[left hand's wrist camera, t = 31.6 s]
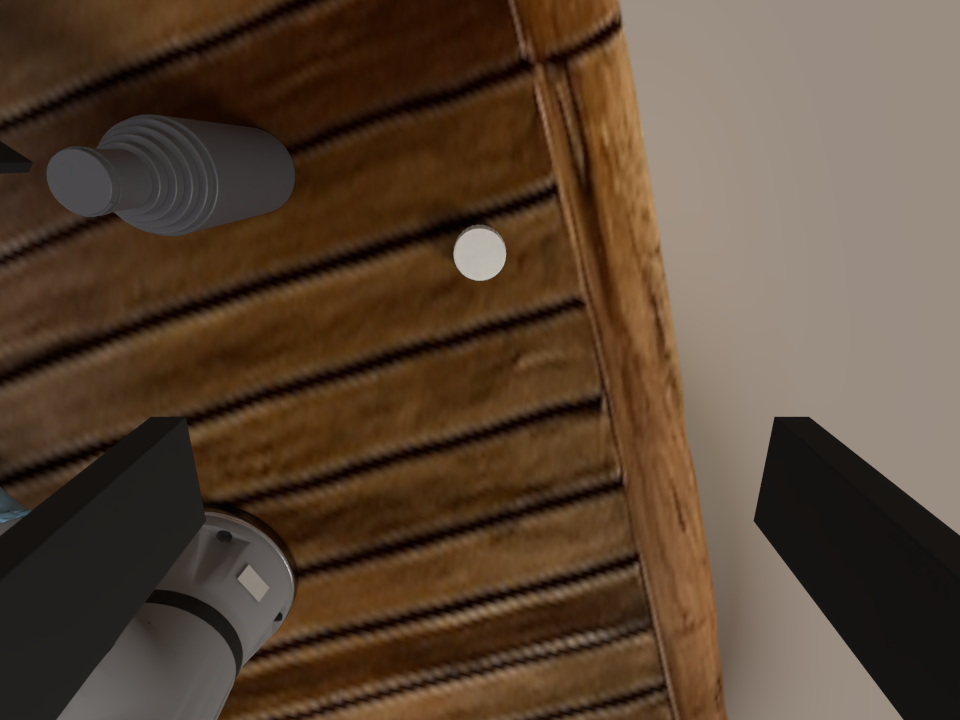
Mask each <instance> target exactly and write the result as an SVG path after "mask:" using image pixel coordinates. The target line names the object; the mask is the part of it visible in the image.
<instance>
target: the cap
mask: <svg viewBox="0 0 960 720" xmlns="http://www.w3.org/2000/svg"><path fill="white" fill-rule="evenodd" d="M455 243H456V244H455V245H454V251H453V254H454V261H455V264H456V266H457V268H458V270H459V271H460V272H461V273H462V274H463V275H464V276H466V277H468V278H470V279H473V280H478V281H480V280H487V279H490V278H492V277H494V276H495V275H496V274H497V273H498V272H499V271H500V270H501V269H502V267H503V266H504V262H505V260H506V259H505V258H506V251H505V250H506V247H505V245H504V244H505V243H504V240H502V237H501V235H499V233H498V231H495V230H494V228H491V227H489V226H485V225H484V224H482V225H478V224H477V225H474V226H473V225H472V226H471V227H469V228H468V227H467V229H465V230H463V231H462V233H461V234H459V236H458V239H456V242H455Z"/></svg>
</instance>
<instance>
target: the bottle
mask: <svg viewBox="0 0 960 720" xmlns="http://www.w3.org/2000/svg"><path fill="white" fill-rule="evenodd" d="M47 181H48V185H49V188H50V190H51V192H52V194H53V195H54V197H55V198H56V199H57V200H58V201H59V202H60V203H61V204H62V205H63V206H64V207H66V208H67V209H68V210H70V211H72V212H74V213H76V214H77V215H81V216H85V217H95V216H102V215H105V214H109V213H110V212H114V213H116V214H117V215H118V216H120V217H121V218H122V219H123V220H125V221H126V222H127V223H129V224H131V225H132V226H134V227H136V228H138V229H140V230H143V231H146V232H149V233H154V234H158V235H163V236H179V235H184V234H188V233H192V232H196V231H200V230H204V229H207V228H211V227H215V226H219V225H223V224H227V223H231V222H234V221H238V220H242V219H246V218H250V217H254V216H258V215H261V214H265V213H269V212H272V211H275V210H276V209H278V208H280V207H281V206H282V205H283V204H284V203H285V202H286V201H287V200H288V199H289V197H290V195H291V193H292V191H293V188H294V183H295V170H294V165H293V161H292V159H291V156H290V154H289V153H288V151H287V149H286V148H285V147H284V145H283V144H282V143H281V142H280V141H279V140H278V139H277V138H276V137H274V136H273V135H271V134H270V133H268V132H266V131H264V130H261V129H257V128H252V127H244V126H237V125H229V124H222V123H214V122H207V121H199V120H192V119H184V118H176V117H169V116H161V115H152V114H146V115H138V116H134V117H131V118H129V119H126V120H124V121H121V122H119V123H117V124H116V125H114V126H113V127H112V128H110V129H109V130H108V131H107V132H106V134H105V135H104V136H103V138H102V139H101V141H100V143H99V145H98V146H97V148H96V149H91V148H87V147H84V146H71V147H68V148H65V149H63V150H61V151H59V152H57V153H56V154H55V155H54V156H53V157H52V158H51V160H50V161H49V164H48V167H47Z"/></svg>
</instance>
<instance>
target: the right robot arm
mask: <svg viewBox="0 0 960 720" xmlns="http://www.w3.org/2000/svg"><path fill="white" fill-rule="evenodd" d="M32 163H33V162H32V161H30V160H29V159H27V158H25V157H24V156H22V155H21V154H19V153H18V152H16V151H15V150H13V149H11V148H10V147H8V146H7V145H5V144H4V143H2V142H1V141H0V173H22V172H29V170H30V168H31V165H32Z"/></svg>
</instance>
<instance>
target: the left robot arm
mask: <svg viewBox="0 0 960 720" xmlns="http://www.w3.org/2000/svg"><path fill="white" fill-rule="evenodd" d="M754 522H755V523H756V525H757V526H758V527H759V529H760V530H761V531H762V533H763V534H764V535H765V536H766V538H767V539H768V540H769V542H770V543H771V544H772V546H773V547H774V548H775V550H776V551H777V552H778V554H779V555H780V556H781V558H782V559H783V560H784V562H785V563H786V564H787V566H788V567H789V568H790V570H791V571H792V572H793V574H794V575H795V576H796V578H797V579H798V580H799V582H800V583H801V584H802V586H803V587H804V588H805V590H806V591H807V592H808V594H809V595H810V596H811V597H812V599H813V600H814V602H815V603H816V604H817V605H818V607H819V608H820V609H821V611H822V612H823V613H824V615H825V616H826V617H827V619H828V620H829V621H830V623H831V624H832V625H833V627H834V628H835V629H836V631H837V632H838V633H839V635H840V636H841V637H842V639H843V640H844V641H845V643H846V644H847V645H848V647H849V648H850V649H851V651H852V652H853V653H854V655H855V656H856V657H857V658H858V660H859V661H860V663H861V664H862V665H863V666H864V668H865V669H866V670H867V672H868V673H869V674H870V676H871V677H872V678H873V680H874V681H875V682H876V684H877V685H878V686H879V688H880V689H881V690H882V692H883V693H884V694H885V696H886V697H887V698H888V700H889V701H890V702H891V704H892V705H893V706H894V708H895V709H896V710H897V711H898V713H899V714H900V716H901V717H902V718H903V720H960V535H958V534H957V533H956V532H955V531H953V530H952V529H951V528H949V527H948V526H947V525H946V524H944V523H943V522H942V521H941V520H939V519H938V518H937V517H935V516H934V515H933V514H932V513H930V512H929V511H928V510H927V509H925V508H924V507H923V506H922V505H920V504H919V503H918V502H916V501H915V500H914V499H913V498H911V497H910V496H909V495H908V494H906V493H905V492H904V491H902V490H901V489H900V488H899V487H897V486H896V485H895V484H894V483H892V482H891V481H890V480H888V479H887V478H886V477H885V476H883V475H882V474H881V473H880V472H878V471H877V470H876V469H875V468H873V467H872V466H871V465H869V464H868V463H867V462H866V461H864V460H863V459H862V458H861V457H859V456H858V455H857V454H855V453H854V452H853V451H852V450H850V449H849V448H848V447H847V446H845V445H844V444H843V443H842V442H840V441H839V440H838V439H836V438H835V437H834V436H833V435H831V434H830V433H829V432H828V431H826V430H825V429H824V428H822V427H821V426H820V425H819V424H817V423H816V422H815V421H814V420H812V419H811V418H810V417H775V418H774V422H773V427H772V432H771V437H770V442H769V447H768V452H767V457H766V462H765V467H764V472H763V477H762V482H761V487H760V492H759V497H758V502H757V507H756V512H755V517H754ZM297 588H298V572H297V567H296V564H295V561H294V558H293V556H292V554H291V552H290V550H289V549H288V547H287V546H286V544H285V543H284V542H283V540H282V539H281V538H280V537H279V536H278V535H277V534H276V533H275V532H274V531H273V530H272V529H271V528H270V527H268V526H267V525H266V524H264V523H263V522H261V521H260V520H258V519H256V518H255V517H253V516H251V515H249V514H246V513H244V512H241V511H239V510H236V509H233V508H229V507H225V506H219V505H210V504H203V502H202V497H201V492H200V487H199V482H198V477H197V472H196V467H195V462H194V457H193V452H192V447H191V442H190V437H189V432H188V427H187V422H186V417H150V418H149V419H148V420H146V421H145V422H144V423H143V424H141V425H140V426H139V427H138V428H136V429H135V430H134V431H132V432H131V433H130V434H129V435H127V436H126V437H125V438H124V439H122V440H121V441H120V442H118V443H117V444H116V445H115V446H113V447H112V448H111V449H110V450H108V451H107V452H106V453H105V454H103V455H102V456H101V457H99V458H98V459H97V460H96V461H94V462H93V463H92V464H91V465H89V466H88V467H87V468H85V469H84V470H83V471H82V472H80V473H79V474H78V475H77V476H75V477H74V478H73V479H71V480H70V481H69V482H68V483H66V484H65V485H64V486H63V487H61V488H60V489H59V490H58V491H56V492H55V493H54V494H52V495H51V496H50V497H49V498H47V499H46V500H45V501H44V502H42V503H41V504H40V505H38V506H37V507H36V508H35V509H33V510H31V509H25V508H24V507H23V506H22V505H21V504H19V503H18V502H17V501H16V500H15V499H14V498H12V497H11V496H10V495H9V494H8V493H7V492H6V491H4V490H3V489H2V488H1V487H0V720H217V719H218V717H219V715H220V712H221V710H222V708H223V706H224V704H225V701H226V699H227V697H228V695H229V693H230V691H231V688H232V686H233V684H234V682H235V680H236V677H237V675H238V673H239V671H240V669H241V667H242V666H243V665H244V664H245V663H246V662H247V661H248V660H249V659H250V658H251V657H252V656H253V655H254V653H255V652H256V651H257V650H258V649H259V648H260V647H261V646H262V645H263V644H264V643H265V642H266V641H267V640H268V639H269V638H270V637H271V636H272V634H274V633H275V631H276V630H277V629H278V628H279V627H280V625H281V624H282V622H283V621H284V620H285V618H286V617H287V615H288V613H289V611H290V608H291V606H292V604H293V601H294V599H295V596H296V593H297Z"/></svg>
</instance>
